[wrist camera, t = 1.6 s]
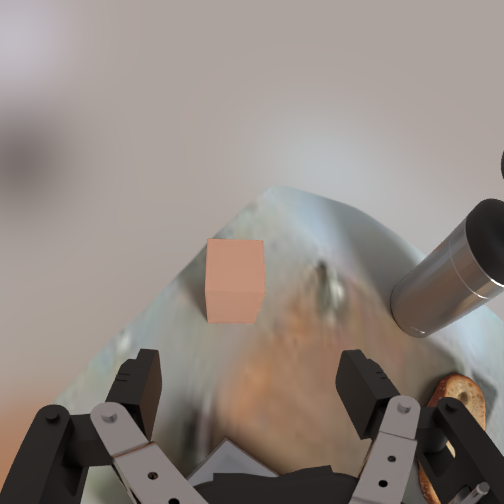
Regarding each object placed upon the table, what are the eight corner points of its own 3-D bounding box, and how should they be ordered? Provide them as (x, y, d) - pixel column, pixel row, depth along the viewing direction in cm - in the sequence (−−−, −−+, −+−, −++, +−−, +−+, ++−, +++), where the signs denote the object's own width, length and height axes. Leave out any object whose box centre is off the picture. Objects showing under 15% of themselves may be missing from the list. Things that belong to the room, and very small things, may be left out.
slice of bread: (446, 518, 24) (462, 522, 20) (378, 464, 29) (393, 467, 26) (503, 425, 31) (518, 422, 28) (448, 363, 36) (464, 357, 33)
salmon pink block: (209, 280, 39) (207, 238, 31) (252, 282, 40) (263, 240, 31) (207, 322, 36) (204, 290, 28) (253, 323, 37) (265, 292, 28)
